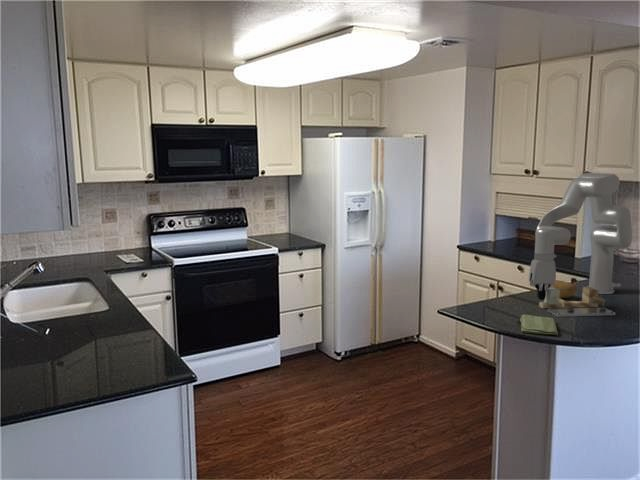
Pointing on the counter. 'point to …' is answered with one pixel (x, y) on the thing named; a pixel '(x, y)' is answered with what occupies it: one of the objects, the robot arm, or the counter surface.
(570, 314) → the bolt plate
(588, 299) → the rail
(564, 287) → the potato
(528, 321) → the washcloth
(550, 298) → the block
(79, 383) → the counter surface
